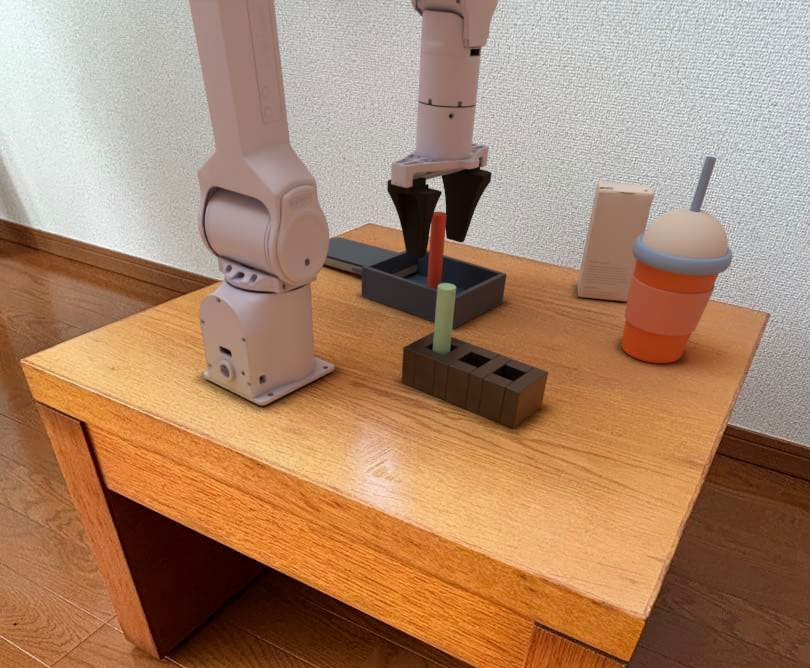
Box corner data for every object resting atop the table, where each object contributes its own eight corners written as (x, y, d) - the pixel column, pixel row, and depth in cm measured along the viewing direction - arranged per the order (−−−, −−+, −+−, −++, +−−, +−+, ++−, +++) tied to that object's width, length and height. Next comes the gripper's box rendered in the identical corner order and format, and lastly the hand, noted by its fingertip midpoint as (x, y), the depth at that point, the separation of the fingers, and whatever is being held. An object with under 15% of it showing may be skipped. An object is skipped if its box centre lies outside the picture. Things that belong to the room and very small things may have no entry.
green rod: (440, 387, 61) (449, 291, 55) (426, 382, 62) (433, 286, 56) (450, 381, 62) (459, 286, 56) (436, 376, 63) (444, 281, 57)
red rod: (434, 300, 76) (440, 216, 70) (423, 296, 77) (428, 213, 71) (442, 296, 77) (449, 213, 71) (431, 292, 78) (437, 210, 72)
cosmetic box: (623, 290, 82) (652, 183, 74) (627, 304, 79) (657, 193, 71) (574, 285, 83) (597, 178, 75) (575, 298, 79) (599, 188, 71)
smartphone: (337, 235, 89) (426, 258, 82) (337, 248, 90) (425, 272, 83) (297, 247, 84) (389, 273, 77) (298, 261, 85) (388, 287, 79)
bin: (502, 302, 77) (506, 273, 75) (453, 329, 71) (456, 297, 69) (413, 274, 83) (415, 246, 81) (361, 296, 77) (361, 266, 74)
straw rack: (541, 407, 59) (548, 371, 57) (513, 429, 56) (519, 392, 54) (432, 364, 64) (435, 330, 62) (401, 382, 61) (403, 347, 59)
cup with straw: (700, 376, 65) (777, 174, 53) (608, 364, 66) (662, 163, 54) (689, 338, 72) (755, 152, 60) (605, 328, 73) (653, 142, 61)
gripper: (436, 116, 58) (426, 272, 67) (519, 101, 67) (500, 241, 76) (375, 105, 61) (373, 255, 70) (462, 92, 70) (450, 227, 79)
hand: (436, 247), depth 73 cm, fingers open, 7 cm apart
